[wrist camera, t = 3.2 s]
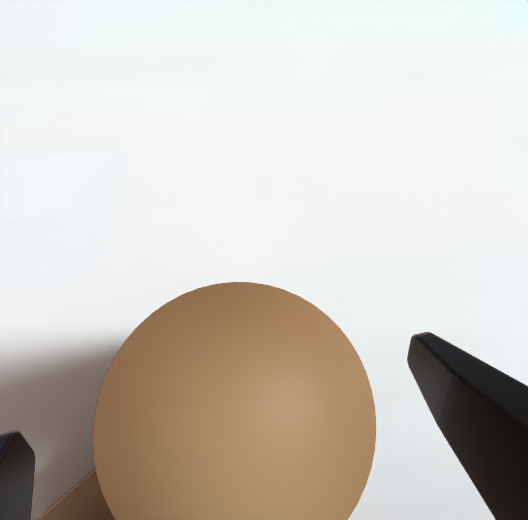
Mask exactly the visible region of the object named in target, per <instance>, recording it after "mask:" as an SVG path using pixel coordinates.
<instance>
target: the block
mask: <svg viewBox="0 0 528 520" xmlns="http://www.w3.org/2000/svg"><path fill="white" fill-rule="evenodd" d="M37 520H116V519H115V518H114V516H113V515H112V513H111V511H110V509H109V507H108V505H107V502H106V500H105V498H104V496H103V493H102V490H101V487H100V484H99V480H98V477H97V473H96V468H95V469H94V470H92V471H91V472H90V473H89V474H88V475H87V476H86V477H84V478H83V479H82V480H81V481H80V482H79V483H78V484H76V485H75V486H74V487H73V488H72V489H71V490H70V491H68V492H67V493H66V494H65V495H64V496H63V497H62V498H61V499H59V500H58V501H57V502H56V503H55V504H54V505H53V506H51V507H50V508H49V509H48V510H47V511H46V512H45V513H43V514H42V515H41V516H40V517H39V518H38V519H37Z"/></svg>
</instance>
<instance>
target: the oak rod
mask: <svg viewBox="0 0 528 520" xmlns="http://www.w3.org/2000/svg"><path fill="white" fill-rule="evenodd" d="M375 439H376V417H375V406H374V401H373V395H372V390H371V387H370V383H369V380H368V377H367V374H366V371H365V369H364V367H363V364H362V362H361V360H360V358H359V356H358V354H357V352H356V351H355V349H354V347H353V346H352V344H351V342H350V341H349V340H348V338H347V337H346V336H345V334H344V333H343V332H342V330H341V329H340V328H339V327H338V326H337V325H336V324H335V323H334V322H333V321H332V320H331V319H330V318H329V317H328V316H327V315H326V314H325V313H323V312H322V311H321V310H319V309H318V308H317V307H316V306H314V305H313V304H311V303H309V302H308V301H306V300H304V299H303V298H301V297H299V296H297V295H295V294H292V293H290V292H288V291H286V290H283V289H279V288H276V287H273V286H269V285H264V284H257V283H250V282H231V283H221V284H215V285H210V286H206V287H202V288H198V289H196V290H193V291H191V292H188V293H185V294H183V295H181V296H179V297H177V298H175V299H173V300H171V301H170V302H168V303H166V304H165V305H163V306H162V307H160V308H159V309H158V310H156V311H155V312H153V313H152V314H151V315H150V316H149V317H148V318H146V319H145V320H144V321H143V322H142V323H141V324H140V325H139V326H138V327H137V328H136V329H135V330H134V331H133V333H132V334H131V335H130V336H129V337H128V338H127V340H126V341H125V342H124V344H123V345H122V347H121V348H120V350H119V351H118V353H117V354H116V356H115V357H114V359H113V361H112V363H111V365H110V367H109V369H108V371H107V373H106V376H105V378H104V381H103V384H102V387H101V390H100V392H99V396H98V401H97V405H96V410H95V415H94V426H93V455H94V461H95V467H96V473H97V477H98V480H99V484H100V487H101V490H102V493H103V496H104V498H105V500H106V502H107V505H108V507H109V509H110V511H111V513H112V515H113V516H114V518H115V519H116V520H348V518H349V517H350V515H351V514H352V512H353V510H354V509H355V507H356V505H357V504H358V501H359V499H360V497H361V495H362V493H363V490H364V488H365V486H366V483H367V479H368V476H369V473H370V470H371V466H372V461H373V456H374V450H375Z"/></svg>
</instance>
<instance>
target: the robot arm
mask: <svg viewBox="0 0 528 520" xmlns="http://www.w3.org/2000/svg"><path fill="white" fill-rule="evenodd" d="M407 360H408V365H409V368H410V370H411V372H412V374H413V376H414V378H415V380H416V382H417V384H418V386H419V388H420V391H421V393H422V395H423V397H424V399H425V401H426V403H427V405H428V407H429V409H430V411H431V413H432V415H433V417H434V419H435V421H436V423H437V425H438V427H439V428H440V430H441V432H442V433H443V435H444V437H445V438H446V440H447V441H448V443H449V445H450V446H451V448H452V450H453V451H454V453H455V454H456V456H457V458H458V459H459V461H460V463H461V464H462V466H463V467H464V469H465V471H466V472H467V474H468V475H469V477H470V479H471V480H472V482H473V484H474V485H475V487H476V488H477V490H478V492H479V493H480V495H481V496H482V498H483V500H484V501H485V503H486V505H487V506H488V508H489V509H490V511H491V513H492V514H493V516H494V518H495V519H496V520H528V386H527V385H525V384H523V383H521V382H519V381H518V380H516V379H514V378H512V377H510V376H509V375H507V374H505V373H503V372H501V371H499V370H498V369H496V368H494V367H492V366H490V365H489V364H487V363H485V362H483V361H481V360H480V359H478V358H476V357H474V356H472V355H471V354H469V353H467V352H465V351H463V350H461V349H460V348H458V347H456V346H454V345H452V344H451V343H449V342H447V341H445V340H443V339H442V338H440V337H438V336H436V335H434V334H432V333H430V332H424V333H419V334H415V335H413V336H412V338H411V341H410V347H409V352H408V357H407ZM34 471H35V454H34V451H33V449H32V448H31V447H30V445H29V444H28V443H27V441H26V440H25V438H24V437H23V436H22V434H21V433H20V432H19V431H16V430H13V431H9V432H5V433H0V520H30V516H31V505H32V493H33V482H34Z"/></svg>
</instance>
